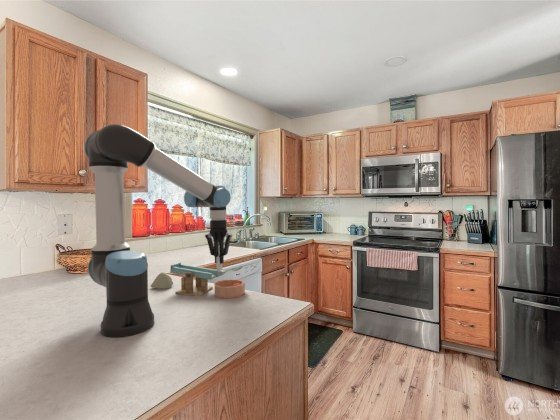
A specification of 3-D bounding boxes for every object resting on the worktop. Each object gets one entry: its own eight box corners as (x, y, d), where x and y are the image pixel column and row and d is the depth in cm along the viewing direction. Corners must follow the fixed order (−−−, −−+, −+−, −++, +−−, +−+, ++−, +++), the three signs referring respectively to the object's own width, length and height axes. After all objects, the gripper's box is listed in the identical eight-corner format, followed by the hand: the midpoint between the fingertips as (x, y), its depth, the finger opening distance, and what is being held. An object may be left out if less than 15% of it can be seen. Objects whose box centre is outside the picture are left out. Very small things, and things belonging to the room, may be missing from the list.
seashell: (176, 282, 137) (161, 276, 132) (166, 296, 137) (150, 291, 132) (174, 272, 143) (159, 267, 138) (163, 286, 143) (148, 280, 139)
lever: (211, 280, 124) (212, 272, 124) (170, 272, 129) (170, 265, 129) (225, 272, 138) (226, 265, 137) (187, 266, 143) (188, 259, 143)
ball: (231, 294, 123) (240, 293, 122) (229, 285, 124) (238, 284, 123) (235, 291, 127) (243, 290, 126) (233, 282, 127) (242, 281, 126)
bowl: (237, 299, 118) (237, 288, 118) (209, 297, 121) (209, 286, 121) (248, 290, 130) (248, 280, 130) (222, 288, 134) (222, 278, 134)
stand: (200, 295, 123) (199, 274, 123) (175, 293, 126) (175, 272, 126) (212, 288, 134) (212, 268, 134) (189, 286, 137) (189, 267, 137)
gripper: (234, 219, 136) (235, 269, 137) (209, 219, 140) (210, 268, 140) (227, 219, 129) (228, 273, 129) (201, 220, 132) (202, 271, 133)
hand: (219, 270), depth 135 cm, fingers closed
